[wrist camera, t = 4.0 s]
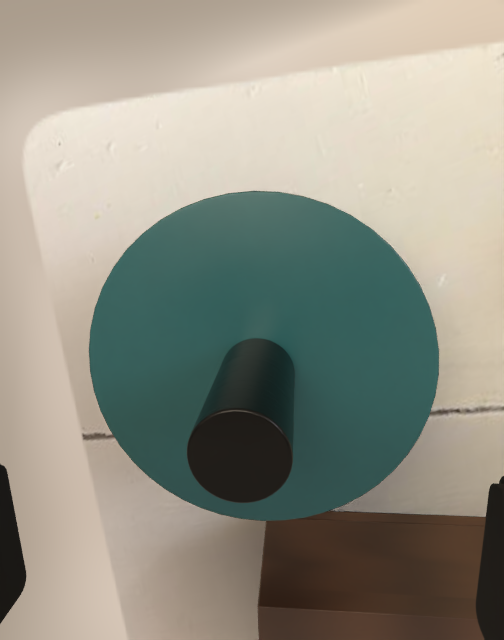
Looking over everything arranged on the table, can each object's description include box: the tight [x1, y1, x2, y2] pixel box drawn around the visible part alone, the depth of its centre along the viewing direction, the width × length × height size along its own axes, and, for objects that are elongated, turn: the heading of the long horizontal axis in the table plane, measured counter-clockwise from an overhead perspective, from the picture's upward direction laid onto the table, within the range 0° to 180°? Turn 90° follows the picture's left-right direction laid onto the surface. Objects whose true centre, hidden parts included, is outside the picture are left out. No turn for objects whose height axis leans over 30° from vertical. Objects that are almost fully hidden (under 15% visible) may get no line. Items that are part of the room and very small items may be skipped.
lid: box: [89, 191, 439, 521], centre depth 14 cm, size 12×12×7 cm
